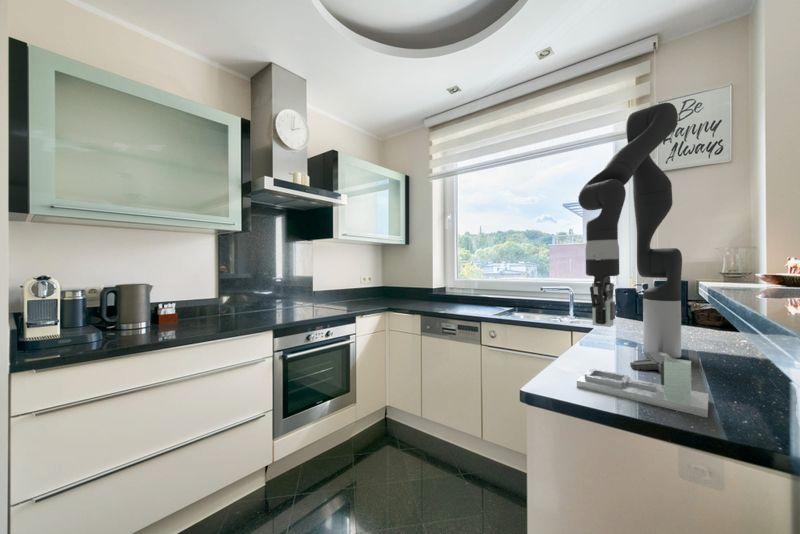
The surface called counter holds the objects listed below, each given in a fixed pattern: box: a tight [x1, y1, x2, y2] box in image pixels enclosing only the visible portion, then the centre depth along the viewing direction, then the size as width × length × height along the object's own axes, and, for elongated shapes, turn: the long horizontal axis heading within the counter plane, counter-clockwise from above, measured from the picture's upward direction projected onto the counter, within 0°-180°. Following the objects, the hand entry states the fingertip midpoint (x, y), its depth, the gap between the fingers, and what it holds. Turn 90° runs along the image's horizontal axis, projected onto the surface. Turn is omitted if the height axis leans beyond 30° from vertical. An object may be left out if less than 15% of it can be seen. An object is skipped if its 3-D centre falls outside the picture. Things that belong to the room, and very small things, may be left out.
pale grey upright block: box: [591, 298, 616, 328], centre depth 85 cm, size 4×4×7 cm
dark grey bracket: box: [629, 352, 671, 375], centre depth 88 cm, size 4×16×10 cm
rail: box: [576, 357, 709, 418], centre depth 70 cm, size 10×22×8 cm, turn 45°
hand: (602, 322), depth 85 cm, fingers closed on pale grey upright block, 3 cm apart
